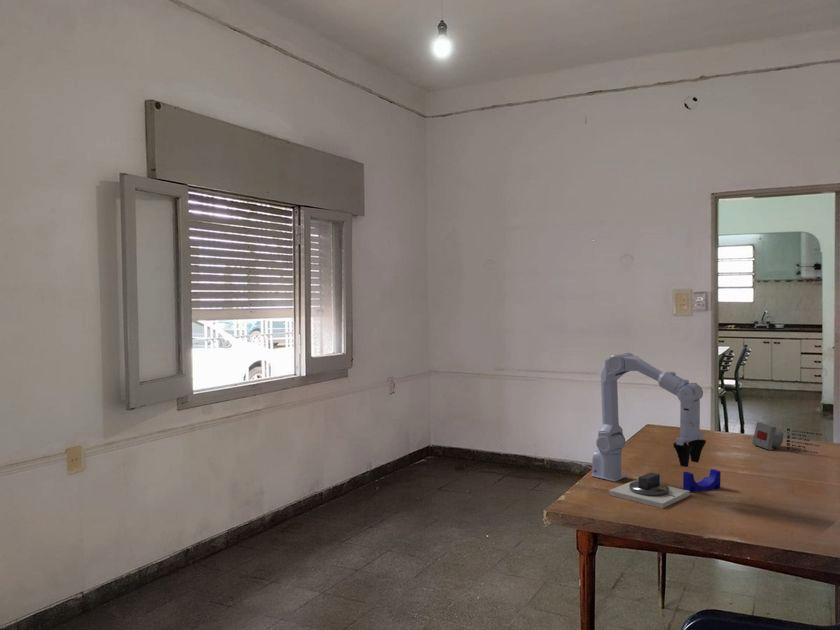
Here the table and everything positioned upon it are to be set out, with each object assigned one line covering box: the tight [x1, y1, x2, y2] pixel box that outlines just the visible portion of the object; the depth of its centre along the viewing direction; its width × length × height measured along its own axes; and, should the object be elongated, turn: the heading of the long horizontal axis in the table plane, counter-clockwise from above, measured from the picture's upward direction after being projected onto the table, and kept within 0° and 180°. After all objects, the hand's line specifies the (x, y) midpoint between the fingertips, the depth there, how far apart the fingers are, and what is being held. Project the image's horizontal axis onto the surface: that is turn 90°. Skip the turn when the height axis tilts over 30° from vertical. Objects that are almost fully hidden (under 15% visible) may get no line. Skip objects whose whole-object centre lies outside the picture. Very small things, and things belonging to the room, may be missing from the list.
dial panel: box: [608, 478, 690, 509], centre depth 206 cm, size 18×18×2 cm
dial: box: [629, 472, 669, 496], centre depth 206 cm, size 12×12×4 cm
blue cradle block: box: [682, 468, 722, 493], centre depth 213 cm, size 12×4×6 cm, turn 105°
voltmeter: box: [751, 422, 823, 454], centre depth 263 cm, size 27×11×10 cm, turn 43°
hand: (689, 464), depth 205 cm, fingers open, 7 cm apart
